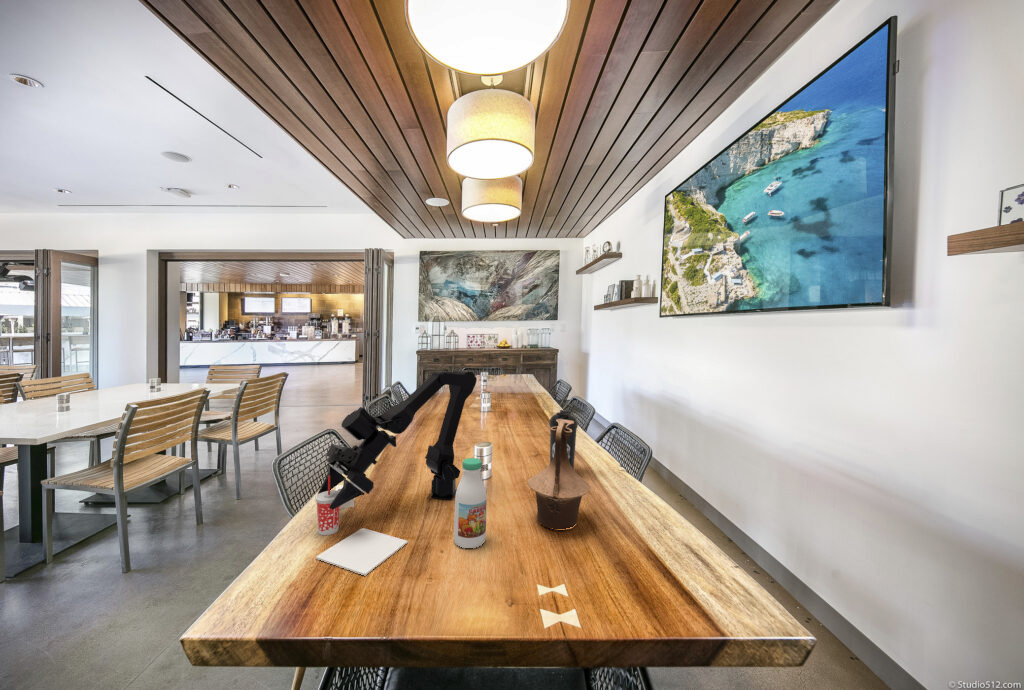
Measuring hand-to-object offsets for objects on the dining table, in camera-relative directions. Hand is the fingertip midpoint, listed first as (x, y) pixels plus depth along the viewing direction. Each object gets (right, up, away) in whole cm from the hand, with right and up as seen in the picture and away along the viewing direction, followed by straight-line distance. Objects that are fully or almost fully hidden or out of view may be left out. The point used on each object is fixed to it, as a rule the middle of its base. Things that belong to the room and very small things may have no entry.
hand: (324, 502), depth 97 cm
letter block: (-2, -7, +15) cm, 17 cm away
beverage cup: (0, -8, +1) cm, 8 cm away
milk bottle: (+36, -9, -2) cm, 37 cm away
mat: (+13, -8, -7) cm, 17 cm away
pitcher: (+59, -9, +9) cm, 60 cm away
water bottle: (+65, -8, +45) cm, 79 cm away
